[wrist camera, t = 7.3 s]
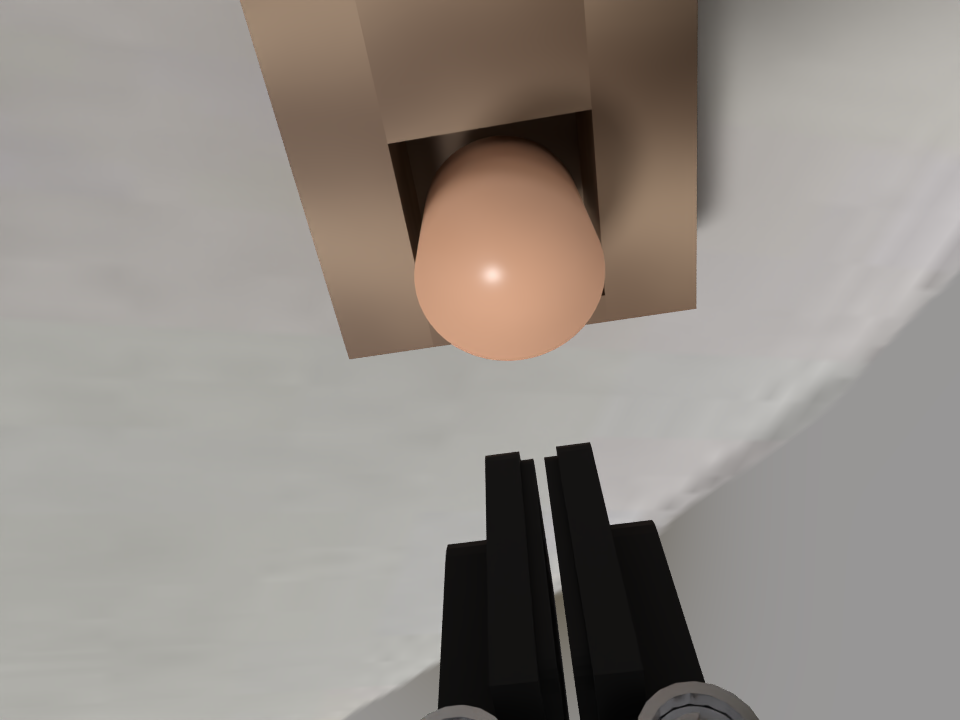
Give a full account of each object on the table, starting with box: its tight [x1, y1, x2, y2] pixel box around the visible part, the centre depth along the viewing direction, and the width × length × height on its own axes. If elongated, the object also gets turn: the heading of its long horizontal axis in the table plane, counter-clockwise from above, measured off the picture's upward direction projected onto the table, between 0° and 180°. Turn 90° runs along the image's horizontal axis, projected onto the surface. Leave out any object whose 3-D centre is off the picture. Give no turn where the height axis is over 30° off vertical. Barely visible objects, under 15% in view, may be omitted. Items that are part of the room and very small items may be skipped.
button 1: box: [414, 136, 605, 361], centre depth 20 cm, size 5×5×5 cm
